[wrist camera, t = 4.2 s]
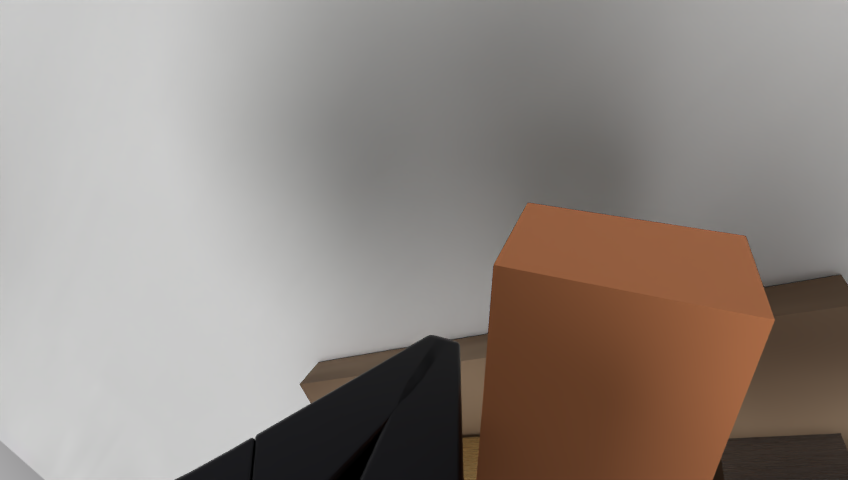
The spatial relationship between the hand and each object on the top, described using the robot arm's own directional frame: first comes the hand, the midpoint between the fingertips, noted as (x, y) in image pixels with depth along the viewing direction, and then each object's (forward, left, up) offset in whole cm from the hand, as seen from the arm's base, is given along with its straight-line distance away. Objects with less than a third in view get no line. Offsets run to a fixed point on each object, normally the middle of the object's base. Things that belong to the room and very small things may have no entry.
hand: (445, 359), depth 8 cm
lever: (-5, 0, 0) cm, 5 cm away
